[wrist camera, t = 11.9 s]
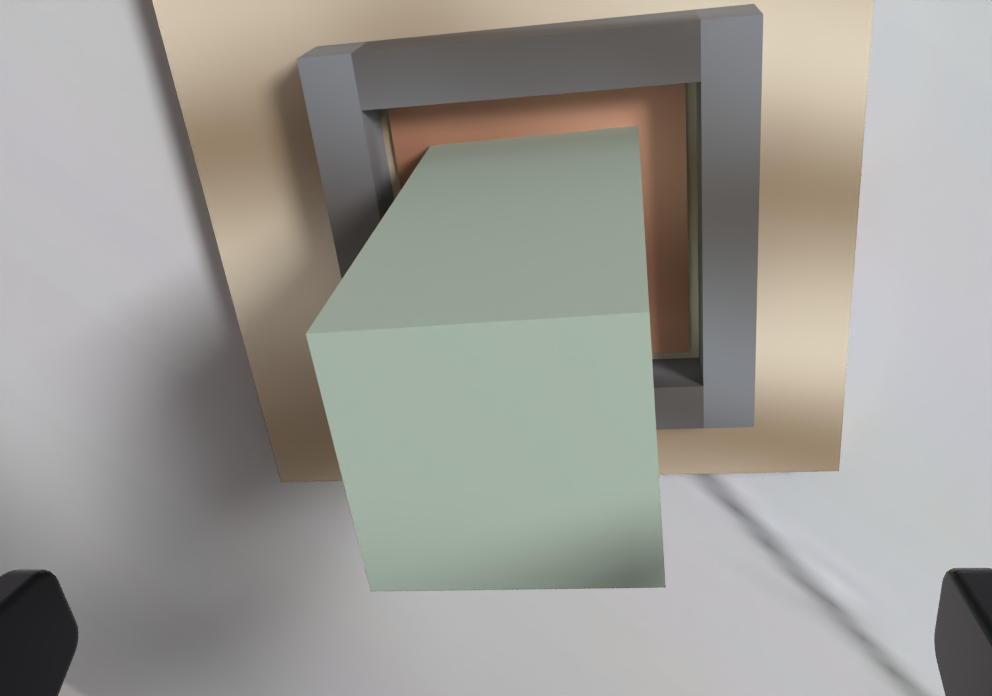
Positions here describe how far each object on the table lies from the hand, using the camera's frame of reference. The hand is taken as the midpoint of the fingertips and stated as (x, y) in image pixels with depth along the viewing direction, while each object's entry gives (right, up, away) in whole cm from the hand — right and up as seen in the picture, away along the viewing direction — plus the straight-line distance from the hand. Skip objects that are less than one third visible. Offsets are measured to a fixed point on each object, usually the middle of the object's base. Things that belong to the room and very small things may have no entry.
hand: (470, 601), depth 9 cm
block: (+1, +5, +9) cm, 10 cm away
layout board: (+1, +7, +9) cm, 11 cm away
